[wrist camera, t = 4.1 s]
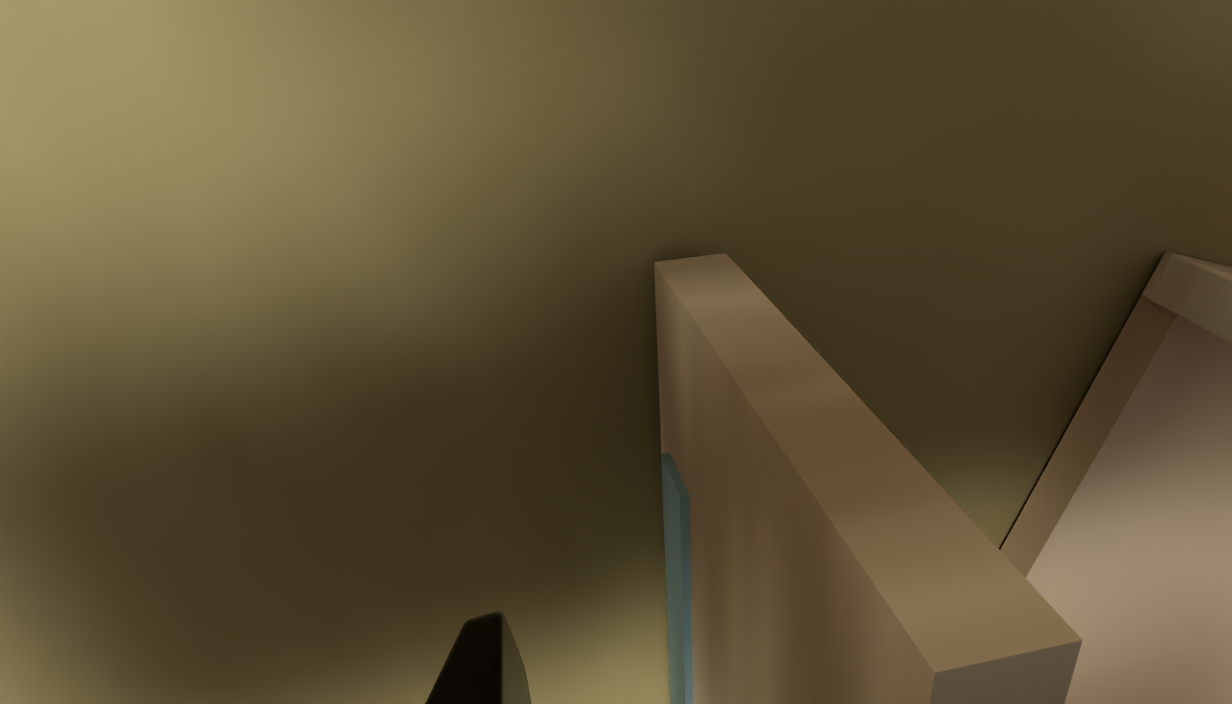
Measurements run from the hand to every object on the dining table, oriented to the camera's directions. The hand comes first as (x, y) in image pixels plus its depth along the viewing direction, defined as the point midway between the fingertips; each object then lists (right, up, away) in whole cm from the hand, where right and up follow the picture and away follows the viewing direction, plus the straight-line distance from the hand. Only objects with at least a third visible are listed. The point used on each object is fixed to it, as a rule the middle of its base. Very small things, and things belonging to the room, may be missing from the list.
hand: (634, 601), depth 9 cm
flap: (+1, -4, +4) cm, 5 cm away
